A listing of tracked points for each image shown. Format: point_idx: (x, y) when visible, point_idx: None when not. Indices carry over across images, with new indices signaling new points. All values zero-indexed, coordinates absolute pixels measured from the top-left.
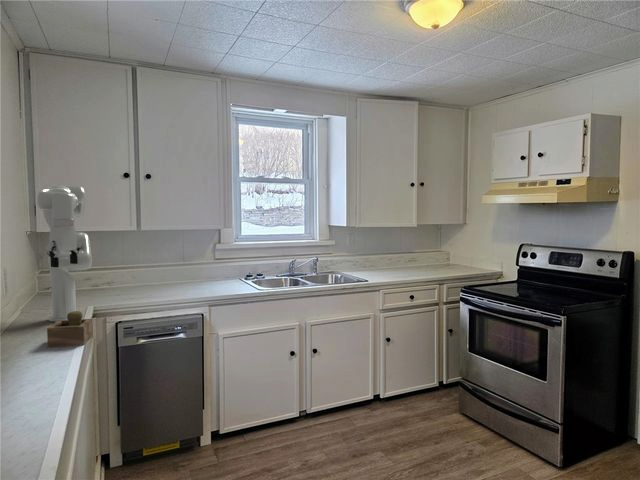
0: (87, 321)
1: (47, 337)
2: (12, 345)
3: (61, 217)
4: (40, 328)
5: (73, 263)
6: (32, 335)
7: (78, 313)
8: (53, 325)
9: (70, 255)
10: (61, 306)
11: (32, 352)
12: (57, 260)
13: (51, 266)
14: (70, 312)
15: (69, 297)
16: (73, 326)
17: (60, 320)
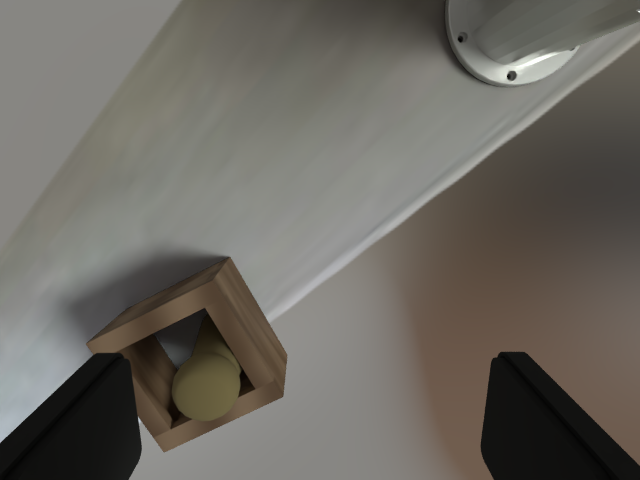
0: (235, 412)
1: (107, 325)
2: (94, 163)
3: None
4: (330, 49)
5: (487, 410)
6: (227, 117)
7: (198, 420)
8: (131, 332)
9: (585, 477)
10: (506, 14)
11: (63, 306)
12: None
13: (99, 361)
14: (186, 387)
15: (572, 29)
16: (149, 419)
17: (212, 291)
